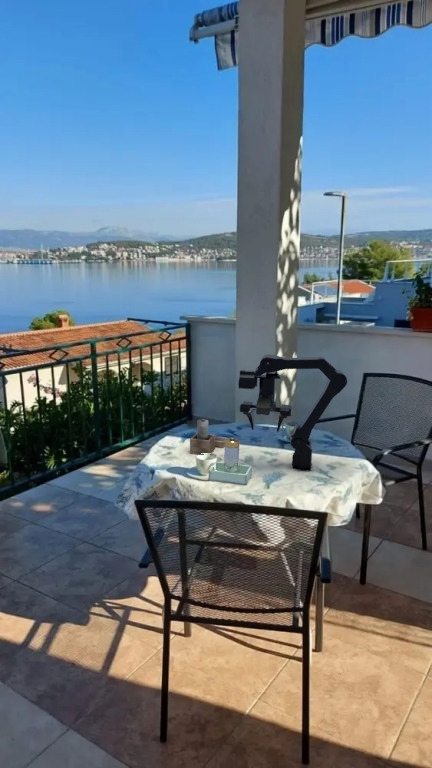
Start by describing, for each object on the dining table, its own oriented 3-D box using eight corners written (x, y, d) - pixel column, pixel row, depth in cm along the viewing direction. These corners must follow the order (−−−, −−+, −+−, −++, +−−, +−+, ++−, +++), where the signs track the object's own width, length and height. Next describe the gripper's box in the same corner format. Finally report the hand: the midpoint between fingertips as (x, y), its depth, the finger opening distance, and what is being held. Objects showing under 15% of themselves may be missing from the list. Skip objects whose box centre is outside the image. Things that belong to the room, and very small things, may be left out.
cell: (235, 472, 176) (236, 435, 173) (240, 478, 171) (241, 439, 168) (221, 474, 174) (222, 436, 172) (226, 479, 170) (227, 440, 167)
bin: (214, 449, 201) (215, 417, 198) (209, 455, 193) (209, 423, 190) (196, 446, 203) (196, 415, 200) (189, 453, 195) (189, 421, 192)
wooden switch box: (227, 443, 208) (227, 435, 207) (223, 448, 202) (223, 440, 201) (208, 441, 210) (208, 433, 209) (204, 446, 204) (204, 438, 203)
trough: (251, 475, 175) (251, 466, 175) (246, 485, 167) (246, 475, 166) (215, 470, 179) (215, 461, 178) (208, 480, 171) (208, 470, 170)
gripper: (236, 392, 174) (235, 435, 178) (289, 397, 169) (287, 440, 173) (243, 386, 185) (242, 426, 188) (293, 390, 180) (291, 431, 183)
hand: (265, 431), depth 183 cm, fingers open, 9 cm apart
